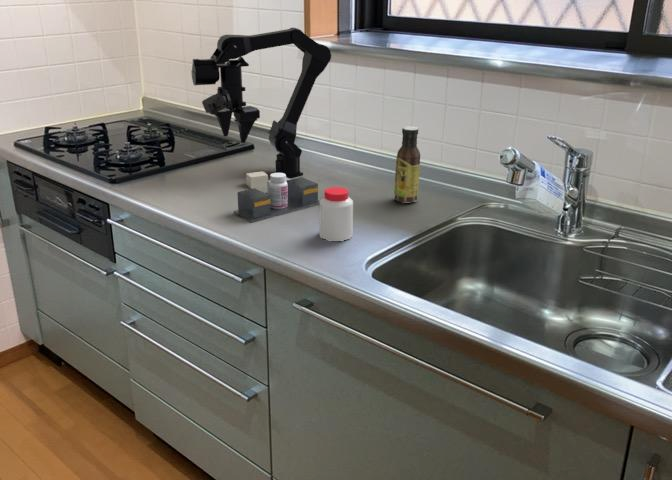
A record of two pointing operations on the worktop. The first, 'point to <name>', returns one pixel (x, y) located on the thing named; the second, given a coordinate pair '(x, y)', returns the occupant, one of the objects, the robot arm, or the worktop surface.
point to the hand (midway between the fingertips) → (234, 139)
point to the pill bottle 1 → (278, 191)
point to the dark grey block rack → (258, 203)
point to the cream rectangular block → (256, 179)
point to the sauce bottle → (407, 167)
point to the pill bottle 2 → (336, 214)
